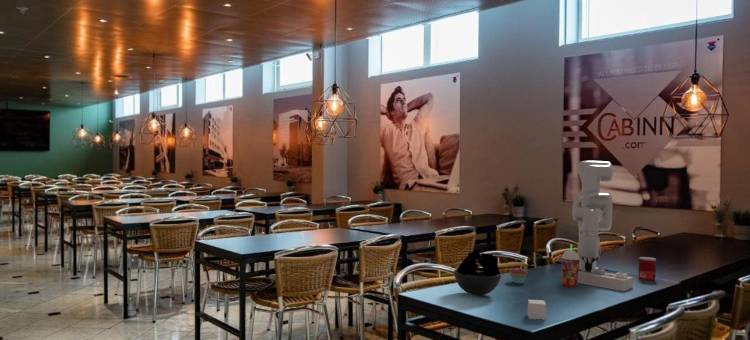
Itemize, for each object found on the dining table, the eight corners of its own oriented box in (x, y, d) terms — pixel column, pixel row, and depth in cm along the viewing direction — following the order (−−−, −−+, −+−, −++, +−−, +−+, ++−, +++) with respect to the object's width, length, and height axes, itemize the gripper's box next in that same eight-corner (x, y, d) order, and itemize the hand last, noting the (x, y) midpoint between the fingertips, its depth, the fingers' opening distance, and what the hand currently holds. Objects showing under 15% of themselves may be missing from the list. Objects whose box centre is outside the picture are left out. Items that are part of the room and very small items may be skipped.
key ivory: (615, 281, 279) (615, 272, 279) (618, 280, 282) (619, 271, 282) (623, 283, 276) (624, 274, 276) (627, 281, 279) (627, 273, 279)
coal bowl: (490, 303, 241) (492, 257, 240) (445, 295, 251) (447, 251, 251) (506, 294, 258) (508, 251, 257) (464, 287, 268) (466, 246, 268)
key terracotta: (603, 283, 283) (604, 274, 282) (607, 282, 285) (607, 273, 285) (612, 284, 280) (612, 275, 280) (615, 283, 283) (615, 274, 283)
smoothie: (578, 285, 281) (580, 243, 281) (578, 289, 274) (580, 246, 273) (560, 283, 284) (562, 242, 284) (560, 287, 276) (561, 244, 276)
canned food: (657, 281, 298) (658, 259, 298) (640, 280, 299) (641, 258, 299) (653, 278, 305) (654, 257, 305) (636, 277, 307) (637, 256, 307)
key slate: (593, 277, 286) (593, 269, 286) (596, 276, 289) (596, 268, 289) (601, 279, 284) (601, 270, 283) (604, 278, 286) (604, 269, 286)
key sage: (582, 279, 290) (582, 270, 290) (585, 278, 293) (586, 269, 293) (590, 280, 287) (590, 272, 287) (593, 279, 290) (593, 271, 290)
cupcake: (528, 282, 285) (529, 257, 285) (525, 285, 278) (526, 260, 277) (510, 279, 289) (511, 255, 289) (507, 283, 281) (508, 258, 281)
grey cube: (545, 320, 218) (546, 304, 218) (529, 319, 219) (529, 303, 219) (543, 316, 224) (544, 300, 224) (527, 314, 225) (527, 299, 225)
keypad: (576, 282, 289) (576, 272, 288) (585, 279, 296) (586, 269, 296) (623, 291, 273) (624, 280, 272) (632, 287, 281) (633, 277, 280)
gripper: (572, 232, 292) (570, 269, 292) (601, 236, 282) (600, 274, 282) (578, 231, 297) (577, 267, 298) (608, 235, 287) (606, 272, 287)
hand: (588, 270), depth 290 cm, fingers closed
